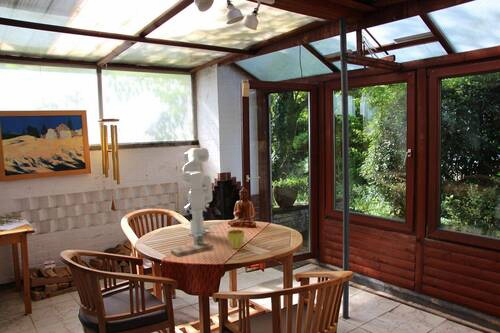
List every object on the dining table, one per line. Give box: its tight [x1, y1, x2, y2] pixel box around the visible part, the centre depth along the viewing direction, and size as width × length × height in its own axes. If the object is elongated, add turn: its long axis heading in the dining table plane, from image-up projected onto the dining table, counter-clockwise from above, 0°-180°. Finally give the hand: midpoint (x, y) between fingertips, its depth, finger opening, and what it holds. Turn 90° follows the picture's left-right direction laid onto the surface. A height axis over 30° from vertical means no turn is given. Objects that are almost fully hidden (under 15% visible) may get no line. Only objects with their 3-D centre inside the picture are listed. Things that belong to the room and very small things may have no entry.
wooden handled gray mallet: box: [193, 234, 210, 246], centre depth 256 cm, size 5×13×7 cm, turn 36°
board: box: [170, 243, 214, 257], centre depth 250 cm, size 24×9×2 cm, turn 126°
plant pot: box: [227, 229, 245, 249], centre depth 254 cm, size 10×10×10 cm
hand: (197, 218), depth 259 cm, fingers open, 9 cm apart
